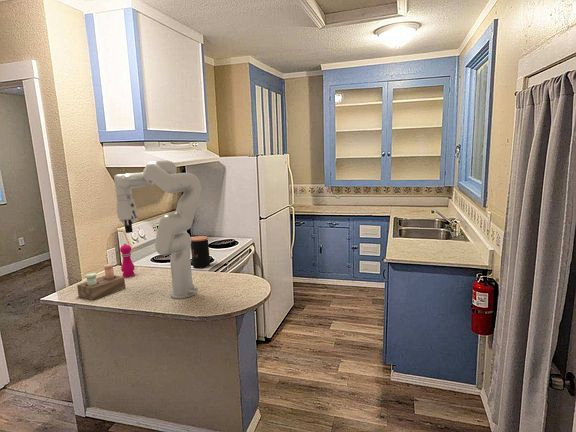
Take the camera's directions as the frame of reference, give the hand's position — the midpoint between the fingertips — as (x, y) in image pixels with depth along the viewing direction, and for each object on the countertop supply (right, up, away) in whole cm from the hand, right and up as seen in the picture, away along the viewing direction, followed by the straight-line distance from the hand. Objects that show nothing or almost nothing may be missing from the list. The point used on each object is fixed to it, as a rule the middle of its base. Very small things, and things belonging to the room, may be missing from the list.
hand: (129, 232), depth 194 cm
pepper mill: (-9, -26, +20) cm, 34 cm away
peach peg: (-9, -27, -1) cm, 29 cm away
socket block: (-11, -30, -5) cm, 33 cm away
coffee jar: (+30, -23, +33) cm, 50 cm away
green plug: (-14, -31, -10) cm, 35 cm away
